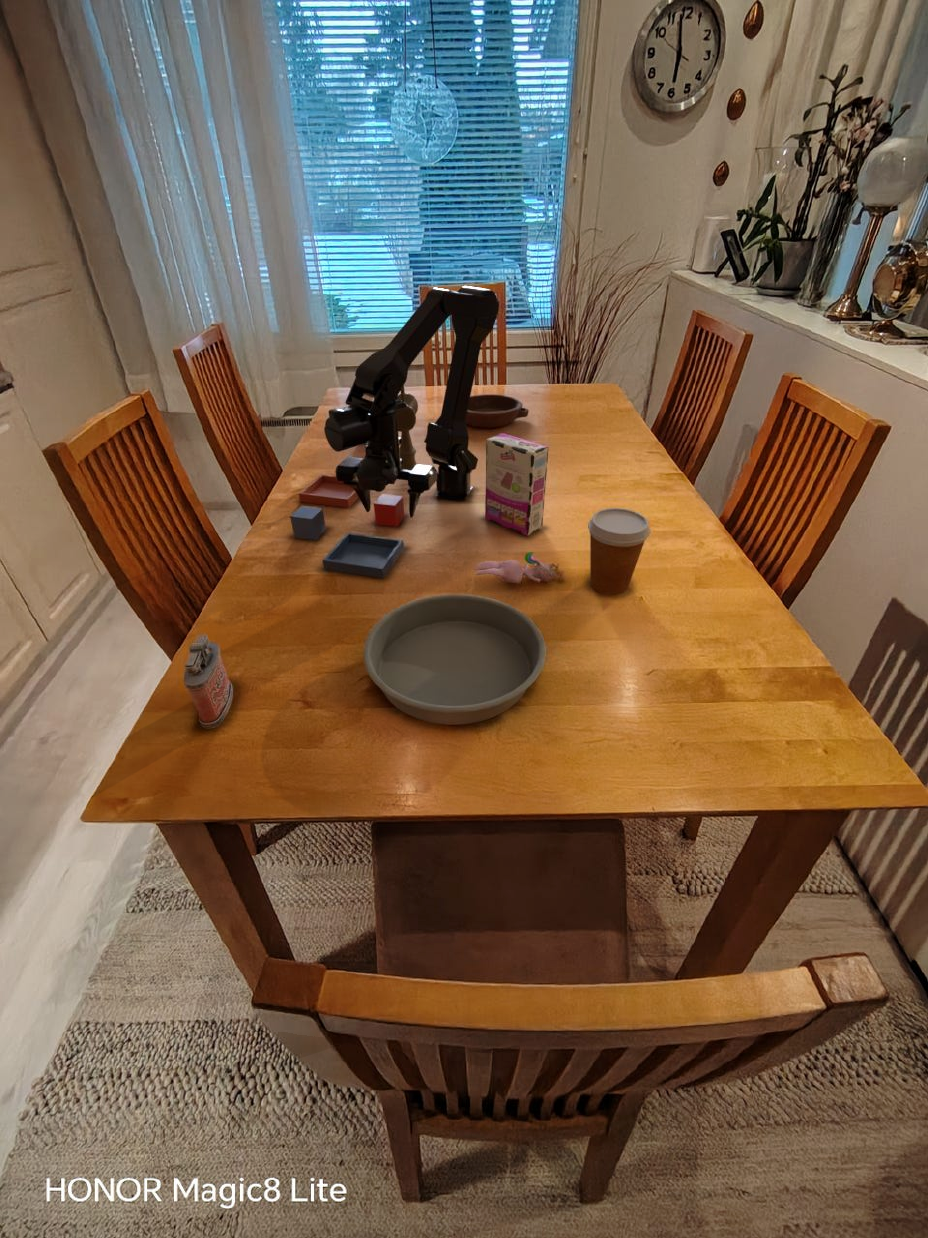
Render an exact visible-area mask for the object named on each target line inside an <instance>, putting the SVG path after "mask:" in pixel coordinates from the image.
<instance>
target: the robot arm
mask: <svg viewBox="0 0 928 1238" xmlns="http://www.w3.org/2000/svg"><path fill="white" fill-rule="evenodd" d="M499 310H500V301H499V300H498V297H497V295H496V293H495V292H494V291H493V290H492V289H487V288H482V287H474V286H467V285H464V286H462V287H460V288H459V289H458V290H457V291H456V290H455V291H454V290H452V289H451V290H450V289H444V288H438V287H433V288H432V289H430V290H428V292H427V293H426V295H425V298H424V299H423V301H422V302H421V304H420V305H419V306H418V307H417V309H415V311H414V312H413V314H412V315H411V316H410V317H409V318H408V320H407V321H406V322H405V324H403V326H402V327H401V329H400V330H399V331H398V332H397V333H396V334H395V335H394V337H393V338H392V339H391V341H390V342H389V343H388V344H386V346H385V347H384V348H382V349H379V350H378V351H376V352H373V353H372V354H370V355H369V356H368V357H367V358H366V359H365V360H364V361H362V362H361V363H360V364H359V365H358V366H357V368H356V370H355V373H354V376H355V377H354V381H353V383H352V384H351V386H352V387H351V386H350V387H351V389H350V390H349V392H348V395H347V397H346V400H345V401H344V402H345V403H344V404H345V405H346V406H344V407H340V408H331V409H329V410H328V417H327V418H326V420H325V423H324V427H323V430H324V435H325V439H326V441H327V442H328V445H329V446H330V448H331V449H332V450H333V451H335V452H336V453H340V452H343V451H346V450H348V449H353V448H356V447H358V446H361V445H362V446H363V445H365V446H364V458H363V457H355V456H354V457H353V456H346V458H344V459H342V461H341V462H340V463H339V464H337V466H336V467H335V469H334V472H335V476H336V479H337V481H343V483H344V485H348V486H350V487H351V488H353V489H354V490H355V492H356V493H357V495H358V497H359V498H358V499H359V500H360V502H361V504H362V506H363V508H364V510H365V512H367V513H369V512H370V511H371V505H372V502H371V501H372V500H371V491H374V492H377V493H381V492H384V491H385V489H386V488H387V486H388V485H395V484H396V481H397V480H398V481H399V480H401V481H407V486H408V488H407V490H406V492H407V494H408V512H409V518H410V519H411V518H413V517H414V515H415V513H416V509H417V507H418V504H419V501H420V498H421V495H422V494H424V493H425V492H427V491H430V490H431V488H432V487H434V485H435V484H436V485H435V486H436V488H435V489H436V492H437V494H436V495H435V496H436V498H437V499H445V500H451V501H452V500H453V501H461V502H464V501H466V500H468V497H469V496H470V494H471V493H472V491H473V489H474V488H473V486H472V485H471V473H472V472H473V471H474V470H477V466H478V462H479V458H478V457H477V456H476V455H475V454H474V453H473V452H471V450H469V441H470V435H469V431H468V427H467V423H465V419H466V414H467V409H468V404H469V400H470V396H472V390H473V387H474V382H475V381H474V380H475V375H476V370H477V366H478V363H479V362H478V361H479V357H480V352H481V348H482V344H483V342H485V340H486V339H487V338H488V336H489V335H490V333H492V331H493V329H494V326H495V323H496V320H497V317H498V314H499V312H500V311H499ZM450 317H451V323H452V328H453V333H454V334H455V335H454V337H455V339H454V340H455V341H454V345H453V351H452V356H451V361H450V365H449V371H448V377H447V382H446V387H445V392H444V397H443V402H442V406H441V413H440V415H439V417H438V418H437V419H436V420H435V422H434V423H433V422H428V424H427V427H426V428H427V429H426V436H425V439H424V441H423V443H425V452H426V453H427V455H428V456H429V458H430V460H431V462H432V464H434V465H437V466H438V467H437V469H436V467H435V466H434V465H429V464H420V463H419V464H418V463H417V464H416V466H415V467H414V468H413V469H412V470H405V469H401V466H402V465H403V459H400V444H401V443H402V442H401V437H399V431H398V422H397V410H400V409H403V408H406V406H407V405H406V404H405V403H404V402H403V401H401V400H400V399H399V397H398V395H399V394H401V389H402V387H403V386H404V387H405V384H406V382H407V379H408V374H409V368H410V367H411V365H412V364H413V362H414V361H415V360H416V358H417V357H418V356H419V355H420V354H421V353H422V351H423V350H424V348H425V347H426V346H427V345H428V343H429V342H430V341H431V340H432V338H433V337H434V336H435V334H436V333H437V332H438V331H439V330H440V328H441V327H442V326H443V324H444V323H445V322H446V321H447V320H448V318H450ZM364 395H366V396H369V397H371V398H374V401H373V402H372V401H370V400H367V399H364V398H362V397H363V396H364ZM367 442H368V444H365V443H367Z"/></svg>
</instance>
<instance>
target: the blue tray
mask: <svg viewBox="0 0 928 1238" xmlns="http://www.w3.org/2000/svg"><path fill="white" fill-rule="evenodd" d="M404 543H405V542H404V539H398V538H391V537H384V536H383V537H382V536H376V535H369V534H361V533H354V532H346V533H345V534H344V535H343V537H341V539H340V540H339V541H338V542H337V543H336V544H335V545H334V547H333V548H332V549H331V550H330V551H329V552H328V553H327V554H326V556H324V558H323V559H322V565H323V570H325V571H327V570H328V571H334V572H340V573H347V574H352V575H360V576H365V577H373V578H380V579H384V578H385V577H386V575H387V574H388V573H389V571H390V569H391V568H392V567H393V566H394V564H395V563H396V561H397V560H398V558H399V557H400V555H401V554H402V553H403V551H404V550H405V546H404V545H405V544H404Z"/></svg>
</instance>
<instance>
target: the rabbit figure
mask: <svg viewBox="0 0 928 1238" xmlns="http://www.w3.org/2000/svg"><path fill="white" fill-rule="evenodd" d="M534 554H535V552H534V551H527V552H526V553H525V554H524V557H523V558H524V561H525V562H526V564H524V566H522V564H521V563H520V562H519V561H517V560H515V559H505V560H503V561H502V560H501V561H495V560H485V561H482V562H480V563H478V564H477V565H476V566H474V568H473V571H478V572H475V575H476V576H481V575H491V576H495V577H499V578H500V579H502V581H504V582H506V583H510V584H511V583H512V584H516V585H518V584H520V583H522V580H523V577H526V578H527V579H531V580H532V581H535V582H537V583H540V582H541V581H542V582H545V583H549V582H552V581H553V580H554V578H555V577H556V576H557V575H559V581H562V580H563V576H564V574H563V573H564V571H561V572H560V571H559V565H560V563H558V564H555V563H554V562H553V563H550V564H548V563H546V562H541V561H540V559H538V558H537V557H534V556H533V555H534ZM531 565H534V567H529V566H531ZM553 568H555V569H554V571H553V570H552V569H553Z"/></svg>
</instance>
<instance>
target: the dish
mask: <svg viewBox="0 0 928 1238" xmlns="http://www.w3.org/2000/svg"><path fill="white" fill-rule="evenodd" d="M529 412H530V411H529V409H528V408H527V407H524V404H523V402H522V401H521V400H519V399H517V398H515V397H512V396H509V395H504V394H496V393H494V394H493V393H492V394H491V393H489V394H487V393H486V394H485V393H484V394H474V395H470V400H469V404H468V409H467V414H466V419H465V423H466V425H469V426H472V427H476V428H484V429H485V428H486V429H487V428H489V429H490V428H492V429H493V428H499V427H504V426H507V425H509V424H511V423H513V422H514V421H515V420H518V419H521V418H527V417H528V416H529Z"/></svg>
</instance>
